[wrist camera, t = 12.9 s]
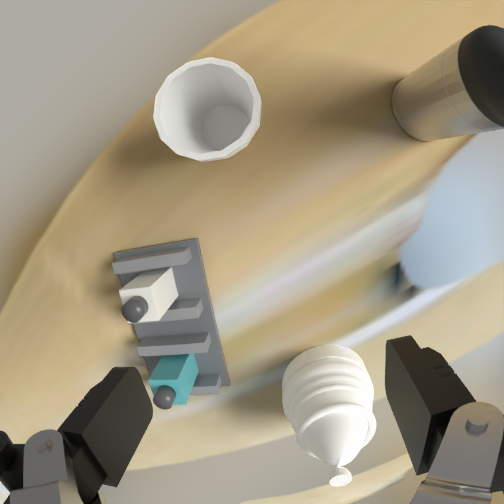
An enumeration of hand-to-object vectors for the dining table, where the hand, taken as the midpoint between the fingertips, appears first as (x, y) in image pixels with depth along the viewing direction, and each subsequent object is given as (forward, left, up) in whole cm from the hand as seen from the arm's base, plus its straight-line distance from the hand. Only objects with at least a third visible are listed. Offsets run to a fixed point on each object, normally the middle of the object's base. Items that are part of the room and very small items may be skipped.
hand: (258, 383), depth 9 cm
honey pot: (-5, +24, -32) cm, 40 cm away
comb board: (+15, +11, -32) cm, 37 cm away
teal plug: (+15, +17, -31) cm, 38 cm away
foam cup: (+3, -13, -32) cm, 35 cm away
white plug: (+15, +5, -31) cm, 35 cm away
